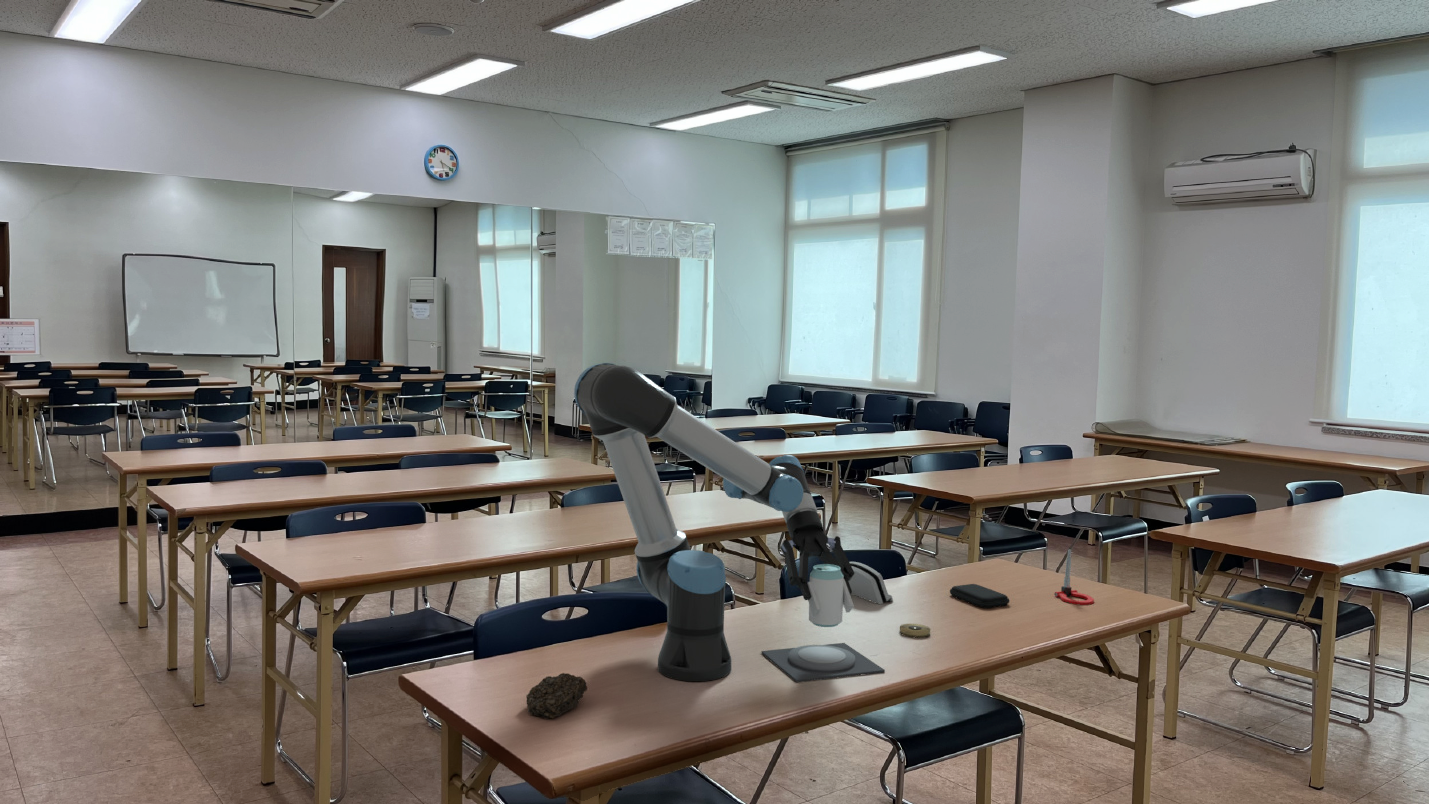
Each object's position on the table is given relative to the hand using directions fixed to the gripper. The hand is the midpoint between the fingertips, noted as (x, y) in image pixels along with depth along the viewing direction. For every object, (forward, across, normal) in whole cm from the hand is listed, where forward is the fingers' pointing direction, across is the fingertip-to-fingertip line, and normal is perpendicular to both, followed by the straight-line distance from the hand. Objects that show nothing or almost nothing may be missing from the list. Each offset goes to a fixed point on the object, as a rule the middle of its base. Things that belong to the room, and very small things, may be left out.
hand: (833, 610), depth 204 cm
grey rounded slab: (-24, -32, -42) cm, 58 cm away
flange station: (+6, +1, -11) cm, 13 cm away
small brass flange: (-2, -29, -20) cm, 35 cm away
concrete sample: (+11, +59, -6) cm, 60 cm away
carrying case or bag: (-15, -61, -34) cm, 72 cm away
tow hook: (-11, -86, -30) cm, 92 cm away
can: (0, 0, -5) cm, 5 cm away
